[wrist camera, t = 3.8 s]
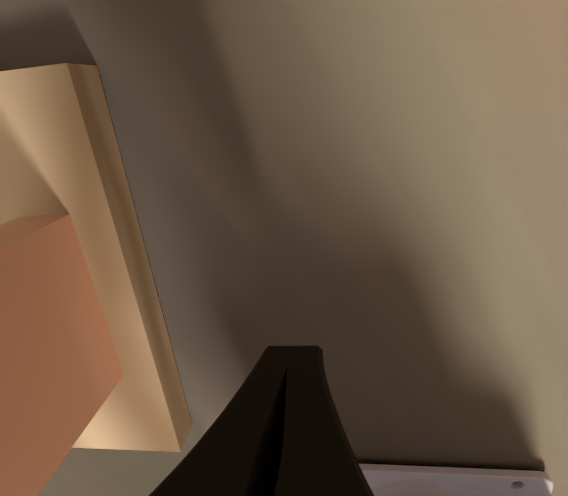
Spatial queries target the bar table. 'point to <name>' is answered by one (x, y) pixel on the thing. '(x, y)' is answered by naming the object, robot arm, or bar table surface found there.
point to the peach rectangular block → (47, 350)
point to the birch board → (94, 240)
